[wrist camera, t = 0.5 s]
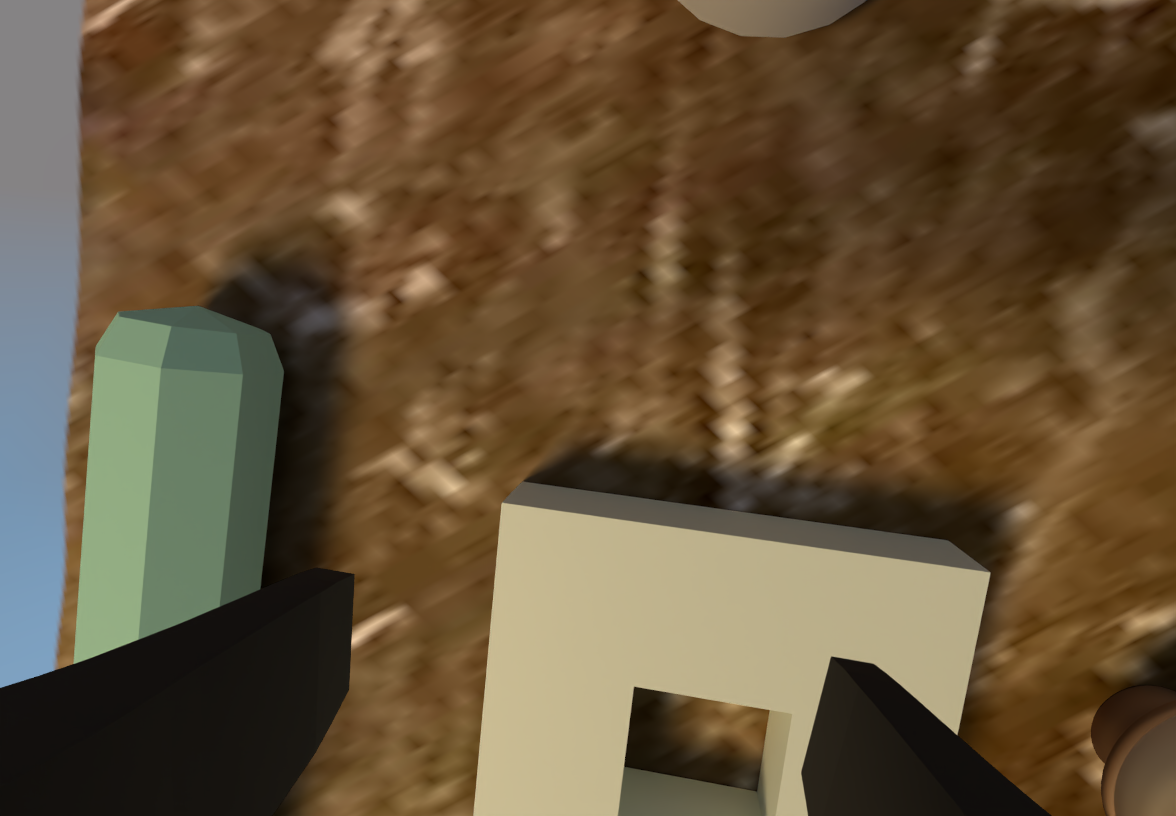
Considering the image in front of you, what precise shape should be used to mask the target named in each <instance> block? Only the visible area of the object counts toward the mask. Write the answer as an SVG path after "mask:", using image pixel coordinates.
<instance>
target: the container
mask: <svg viewBox="0 0 1176 816" xmlns="http://www.w3.org/2000/svg"><path fill="white" fill-rule="evenodd" d="M283 376H284V370H283V367H282V364H281V362H280V359H279V356H278V353H277V351H276V348H275V345H274V342H273V340H272V337H271V334H269V333H267V332H265V331H263V330H262V329H259V328H257V327H254V326H251V325H249V324H246V323H243V322H241V321H238V320H235V319H232V318H230V317H227V316H224V315H222V314H219V313H216V312H214V311H211V310H208V309H206V308H203V307H200V306H189V307H176V308H163V309H149V310H136V311H123V312H118V313H117V315H116V316H115V318H114V319H113V321H112V322H111V324H110V325H109V327H108V328H107V330H106V332H105V333H104V335H103V336H102V338H101V339H100V341H99V342H98V344H97V345H96V352H95V366H94V380H93V394H92V409H91V423H90V437H89V451H88V466H87V480H86V494H85V509H84V523H83V537H82V551H81V566H80V580H79V594H78V609H77V623H76V637H75V651H74V664H75V663H78V662H81V661H83V660H86V659H89V658H92V657H95V656H97V655H100V654H102V653H105V652H107V651H110V650H113V649H115V648H118V647H120V646H123V645H126V644H128V643H131V642H133V641H136V640H138V639H141V638H144V637H146V636H149V635H151V634H154V633H157V632H159V631H162V630H164V629H167V628H169V627H172V626H175V625H177V624H180V623H182V622H184V621H187V620H189V619H192V618H194V617H196V616H199V615H201V614H203V613H206V612H208V611H210V610H213V609H215V608H218V607H220V606H222V605H225V604H227V603H229V602H232V601H234V600H236V599H239V598H241V597H243V596H246V595H248V594H250V593H253V592H255V591H257V590H260V587H261V578H262V569H263V560H264V551H265V541H266V532H267V523H268V514H269V505H270V495H271V486H272V477H273V468H274V459H275V449H276V440H277V431H278V422H279V413H280V404H281V394H282V385H283Z"/></svg>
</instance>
